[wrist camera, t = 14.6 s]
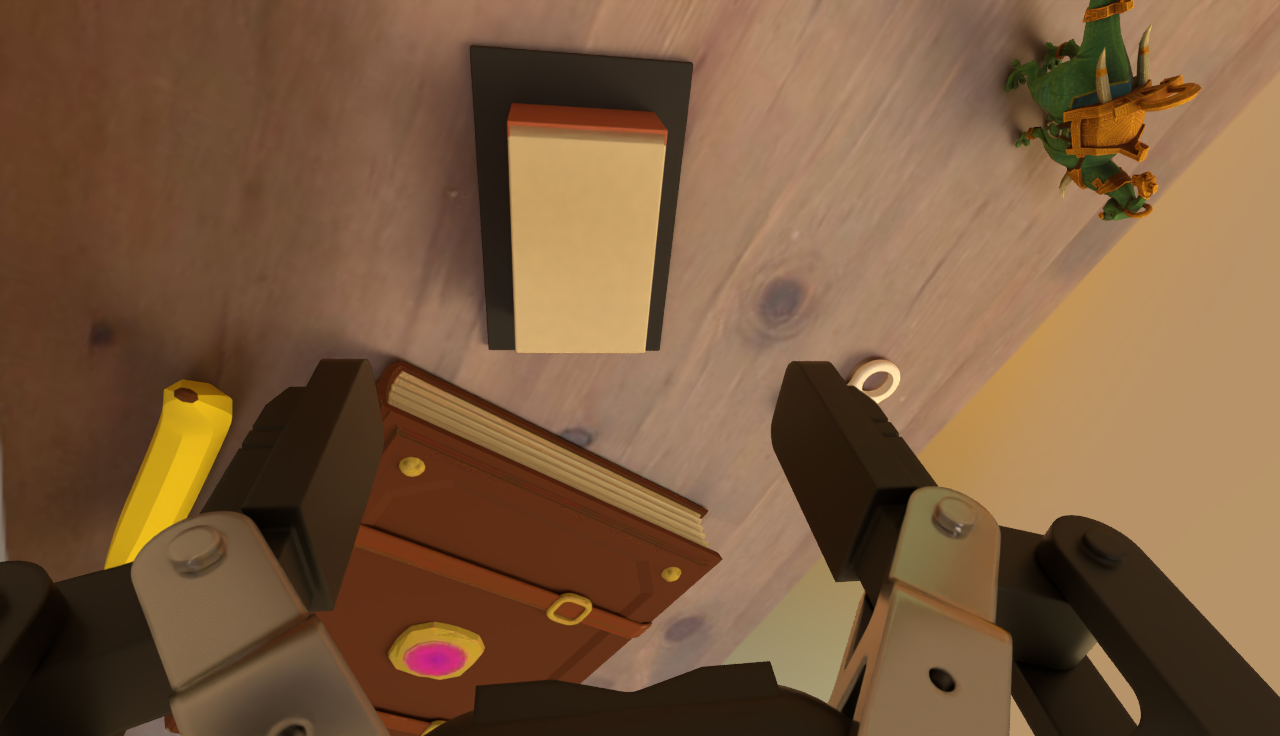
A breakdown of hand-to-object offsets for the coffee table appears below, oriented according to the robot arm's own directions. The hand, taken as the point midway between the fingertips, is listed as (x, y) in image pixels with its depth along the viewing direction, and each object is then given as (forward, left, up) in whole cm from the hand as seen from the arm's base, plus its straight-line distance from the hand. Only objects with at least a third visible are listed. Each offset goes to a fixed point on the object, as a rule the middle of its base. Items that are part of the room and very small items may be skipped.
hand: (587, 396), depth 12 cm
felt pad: (+2, -2, -18) cm, 18 cm away
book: (+4, -30, -18) cm, 36 cm away
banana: (-12, -23, -18) cm, 32 cm away
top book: (+2, -2, -18) cm, 18 cm away
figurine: (+17, +13, -18) cm, 28 cm away
